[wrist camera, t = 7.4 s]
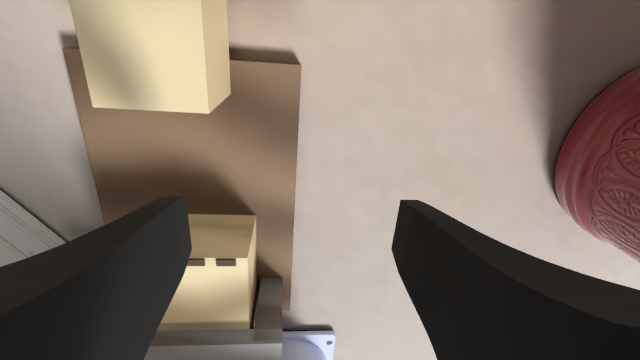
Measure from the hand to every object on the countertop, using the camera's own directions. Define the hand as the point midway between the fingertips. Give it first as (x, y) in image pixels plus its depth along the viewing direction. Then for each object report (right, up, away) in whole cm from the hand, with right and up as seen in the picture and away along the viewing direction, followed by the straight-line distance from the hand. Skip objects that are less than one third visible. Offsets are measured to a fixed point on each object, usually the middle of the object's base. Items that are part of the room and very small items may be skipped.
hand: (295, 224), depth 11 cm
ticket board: (-7, 0, +10) cm, 12 cm away
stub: (-6, +10, +5) cm, 13 cm away
